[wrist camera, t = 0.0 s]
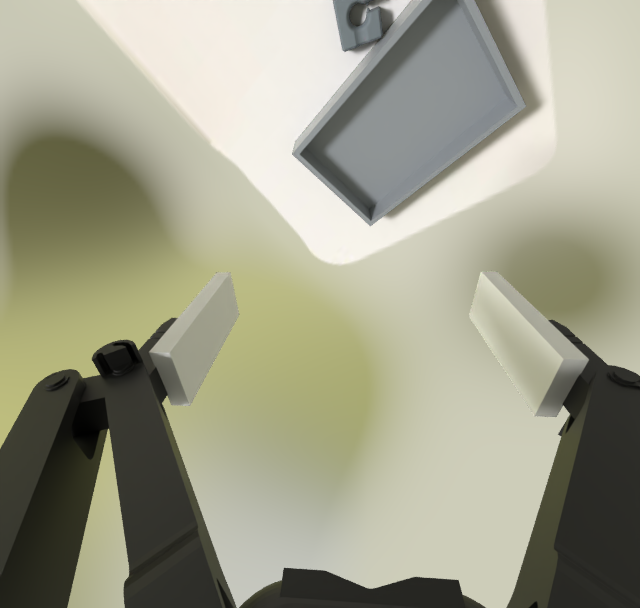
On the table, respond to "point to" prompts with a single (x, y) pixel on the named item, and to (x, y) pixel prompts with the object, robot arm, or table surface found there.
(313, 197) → the table surface
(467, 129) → the tray
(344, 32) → the bracket
